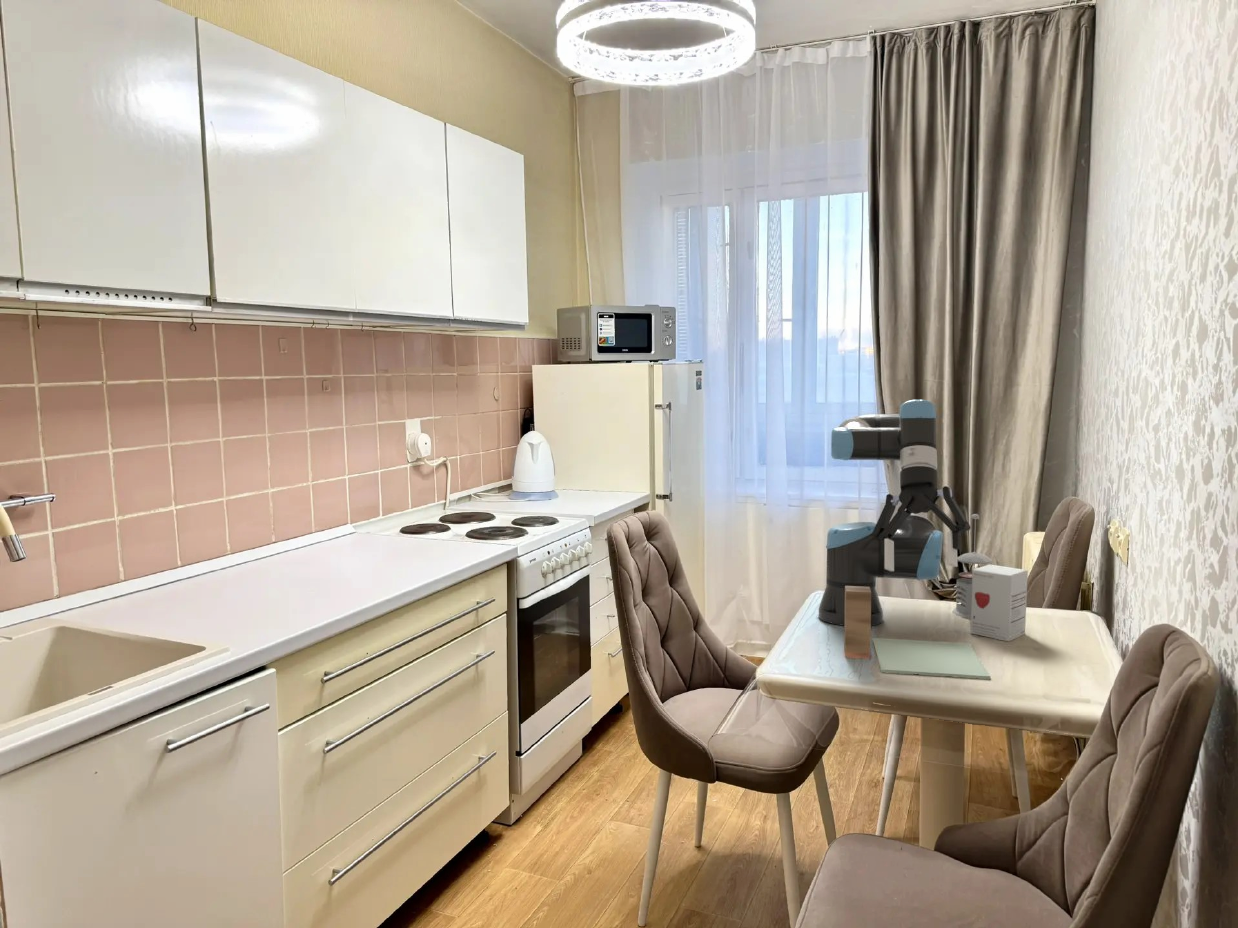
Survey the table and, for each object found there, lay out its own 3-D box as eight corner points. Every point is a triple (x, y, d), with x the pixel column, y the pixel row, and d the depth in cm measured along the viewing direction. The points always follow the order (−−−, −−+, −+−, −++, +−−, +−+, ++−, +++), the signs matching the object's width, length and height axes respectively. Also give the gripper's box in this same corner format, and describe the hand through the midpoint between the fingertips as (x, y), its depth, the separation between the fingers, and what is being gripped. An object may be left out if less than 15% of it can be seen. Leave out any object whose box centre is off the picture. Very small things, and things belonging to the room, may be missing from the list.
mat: (872, 640, 186) (872, 637, 186) (969, 645, 181) (969, 643, 181) (881, 672, 164) (881, 669, 164) (990, 679, 160) (990, 676, 160)
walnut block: (844, 650, 179) (845, 585, 178) (868, 651, 178) (869, 586, 177) (845, 657, 174) (846, 591, 173) (870, 658, 173) (871, 592, 172)
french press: (986, 608, 212) (989, 511, 211) (1003, 621, 201) (1006, 517, 199) (946, 608, 213) (949, 511, 211) (960, 620, 202) (963, 517, 200)
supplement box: (968, 633, 191) (970, 568, 190) (986, 626, 197) (988, 563, 195) (1009, 642, 184) (1011, 575, 183) (1026, 634, 190) (1028, 569, 189)
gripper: (856, 473, 185) (856, 568, 178) (969, 455, 168) (973, 559, 161) (873, 483, 190) (873, 575, 183) (984, 466, 173) (989, 567, 166)
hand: (920, 567), depth 172 cm, fingers open, 13 cm apart
